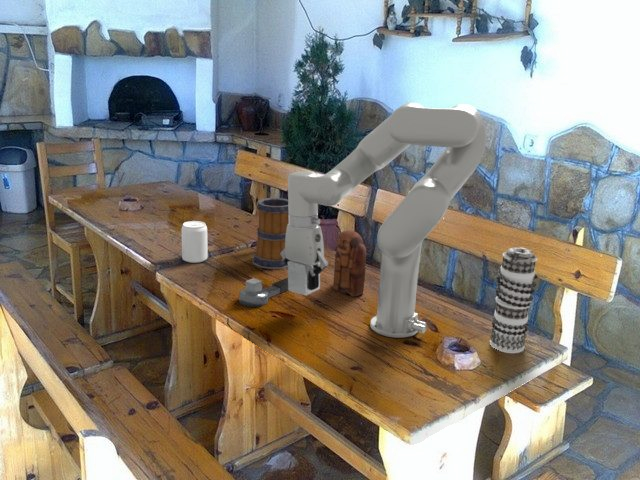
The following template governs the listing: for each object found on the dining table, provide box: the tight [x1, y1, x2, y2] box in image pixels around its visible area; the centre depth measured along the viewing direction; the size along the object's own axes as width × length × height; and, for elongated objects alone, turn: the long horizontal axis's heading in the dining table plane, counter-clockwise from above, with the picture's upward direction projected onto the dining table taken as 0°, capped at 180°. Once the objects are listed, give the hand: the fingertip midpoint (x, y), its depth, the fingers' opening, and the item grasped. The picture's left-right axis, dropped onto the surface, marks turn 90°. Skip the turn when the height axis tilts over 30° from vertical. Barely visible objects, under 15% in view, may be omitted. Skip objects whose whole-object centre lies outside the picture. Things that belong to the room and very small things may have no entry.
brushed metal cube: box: [287, 261, 321, 296], centre depth 172 cm, size 6×6×8 cm
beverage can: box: [181, 220, 209, 264], centre depth 209 cm, size 8×8×12 cm
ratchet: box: [238, 277, 289, 308], centre depth 185 cm, size 8×21×6 cm, turn 142°
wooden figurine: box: [332, 229, 367, 297], centre depth 189 cm, size 12×6×18 cm, turn 42°
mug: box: [251, 197, 289, 270], centre depth 212 cm, size 19×14×20 cm
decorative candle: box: [489, 246, 539, 354], centre depth 158 cm, size 9×9×25 cm
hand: (304, 285), depth 172 cm, fingers closed on brushed metal cube, 6 cm apart
